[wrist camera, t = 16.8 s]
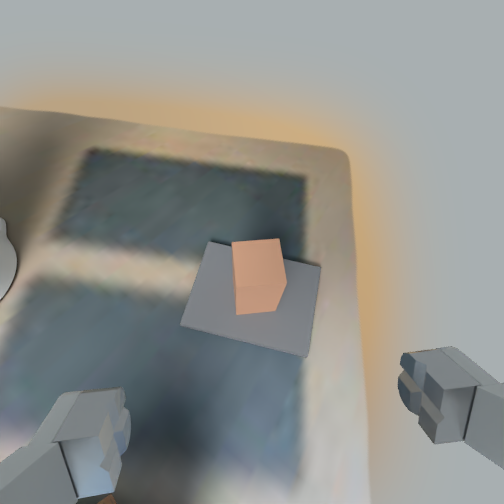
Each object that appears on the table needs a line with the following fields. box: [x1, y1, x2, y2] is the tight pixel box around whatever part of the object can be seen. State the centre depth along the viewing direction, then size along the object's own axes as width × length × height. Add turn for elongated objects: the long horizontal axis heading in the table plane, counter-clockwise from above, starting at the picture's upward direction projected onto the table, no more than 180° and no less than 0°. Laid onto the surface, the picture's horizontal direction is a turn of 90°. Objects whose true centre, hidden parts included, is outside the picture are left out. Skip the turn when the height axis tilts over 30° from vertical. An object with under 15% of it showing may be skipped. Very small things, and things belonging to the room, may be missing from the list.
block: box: [232, 238, 287, 315], centre depth 35 cm, size 5×5×10 cm
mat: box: [180, 241, 321, 357], centre depth 40 cm, size 16×12×1 cm
